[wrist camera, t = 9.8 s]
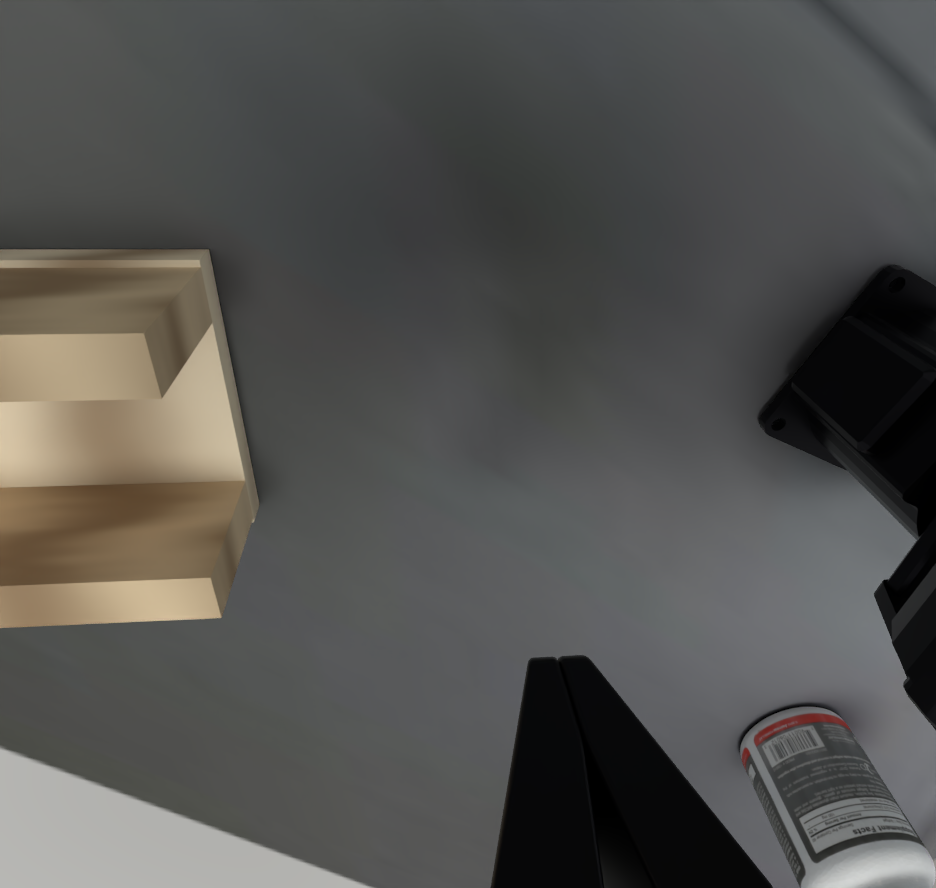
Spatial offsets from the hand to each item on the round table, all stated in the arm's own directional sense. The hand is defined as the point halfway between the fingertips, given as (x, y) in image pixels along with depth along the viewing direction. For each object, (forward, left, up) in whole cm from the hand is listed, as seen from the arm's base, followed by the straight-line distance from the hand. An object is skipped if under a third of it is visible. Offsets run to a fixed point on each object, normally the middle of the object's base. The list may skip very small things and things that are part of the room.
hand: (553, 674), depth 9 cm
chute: (+15, +9, -13) cm, 22 cm away
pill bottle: (-26, +14, -13) cm, 32 cm away
